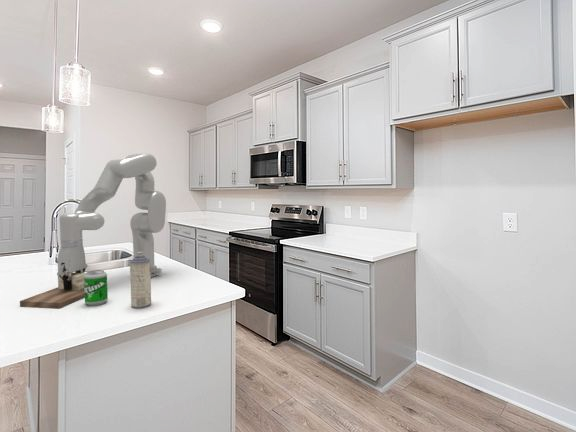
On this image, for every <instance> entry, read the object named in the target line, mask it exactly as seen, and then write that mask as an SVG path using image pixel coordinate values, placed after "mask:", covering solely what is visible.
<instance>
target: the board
mask: <svg viewBox="0 0 576 432" xmlns="http://www.w3.org/2000/svg"><path fill="white" fill-rule="evenodd" d="M83 299H85V292H84V289H83V290H81V291H63V290H58V286H57V287H55V288H53V289H49V290H47V291H44V292H41V293H39V294H37V295H36V294H35V295H33V296H30V297H28V298H24V299H22V300H20V301H19V306H20V307H22V308H23V307H24V308H25V307H26V308H43V309H63V308H64V307H67V306H69V305H72V304H73V303H75V302H78V301H79V300H83Z"/></svg>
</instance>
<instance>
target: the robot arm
mask: <svg viewBox="0 0 576 432" xmlns="http://www.w3.org/2000/svg"><path fill="white" fill-rule="evenodd" d="M156 167H157V159H156V158H155V156H154V155H153V154H151V153H135V154H134V153H133V154H132V153H131V154H128V155H127V156H126V157H125V158H121V159H112V160H109V161H108V162H107V163H106V165H105V167H104V168H103V170H102V172H101V174H100V176H99V178H98V180H97V182H96V183H95V185H94V187H93V188H92V189H91V190H90V191H89V192H88V193H87V194H86V195H85V196H84V197H83V198H82V200H80V202H79V204H78V205H77V207H76V208H75V210H74V213H63V214H61V215H60V216H59V234H60V236H59V237H60V238H59V239H60V248H59V251H58V256H57V273H56V275H57V277H58V276H59V277H60V278H61V279H62V280H63V284H64V290H72V280H70V279H71V274H72V273H86V269H87V268H88V264H87V263H86V252H85V248H84V245H83V242H84V241H83V231H97V230H100V229H102V228H103V226H104V225H105V218H104V216H103V215H101V214H100V213H99V212H98V213H97V212H96V210H98V208H99V206H101V205H102V204H103V203H104V204H105V202H108V201H109V200H111V199H113V198H114V197H115V196H116V194H117V192H118V189H119V188H120V185H121V183H122V181H123V179H130V178H131V179H132V178H134V179H135V192H134V193H135V194H134V204H135V207H136V208H138V209H139V210H142V211H141V212H137V213H135V214H133V215H132V216H131V218H130V224H129V225H130V230H131V234H132V248H133V250H132V253H133V258H134V257H135V256H136V255H137V252H142V254H143V255H144V256H145V257H147V259H149V260H150V276H151V278H153V277H157V276H158V275H159V274H161V273H162V268H157V267H158V266H157V265H155V239H154V235H153V234H157V233H160V232H162V230H163V229H164V227H165V224H166V212H167V200H166V197H165V195H164V194H163V193H162V192H161V191H158V190H155V178H154V175H153V173H152V171H154V170H155V169H156ZM143 210H144V211H147V212H143ZM66 274H68V276H66Z"/></svg>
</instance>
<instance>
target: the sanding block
mask: <svg viewBox="0 0 576 432" xmlns="http://www.w3.org/2000/svg"><path fill="white" fill-rule="evenodd" d="M86 273H87V272H84V273H75V272H72V274H71V279H70V280H72V290H64V284H63V280H62V279H61V278H60V277H59V276H58V275H57V287H58V290H63V291H81V290H83V289H84V275H85V274H86ZM66 276H68V274H66Z"/></svg>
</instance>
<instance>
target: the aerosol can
mask: <svg viewBox="0 0 576 432" xmlns="http://www.w3.org/2000/svg"><path fill="white" fill-rule="evenodd" d="M129 270H130V271H129V273H130V274H129V275H130V277H129V278H130V301H131V302H130V307H131V309H136V310H137V309H145V308H149V307H150V306H151V305H152V283H151V282H152V279H151V278H152V277H151V276H150V260H149V259H147V257H145V256H144V255H143V254H142V252H137V255H136V256H135V257H134V256H133V258H132V259H131V260H130V262H129Z"/></svg>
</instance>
